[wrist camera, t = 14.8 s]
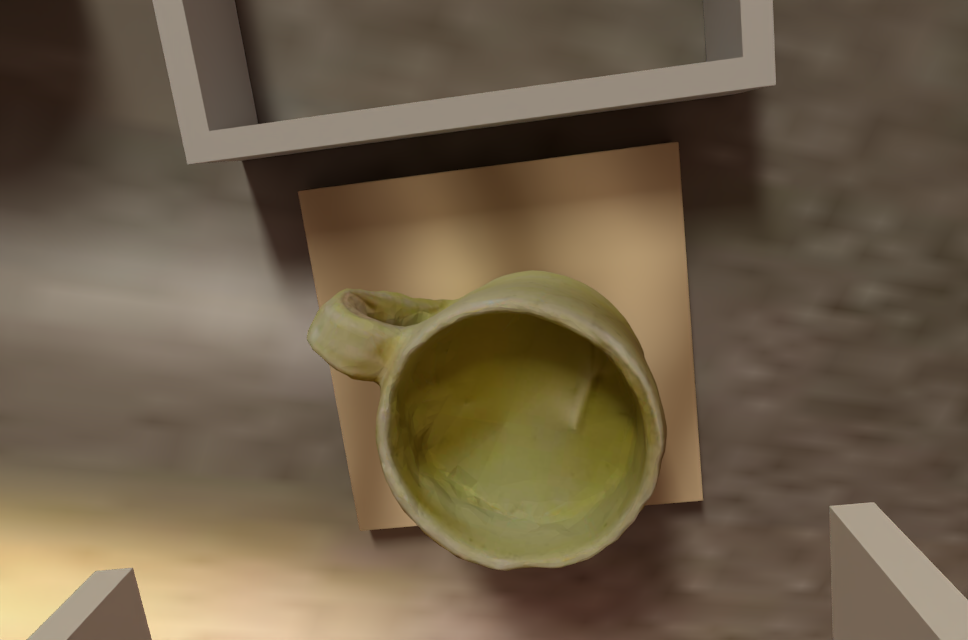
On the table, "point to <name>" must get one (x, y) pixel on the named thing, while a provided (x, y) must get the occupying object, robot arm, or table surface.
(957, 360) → the table surface
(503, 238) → the board
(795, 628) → the table surface
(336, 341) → the mug
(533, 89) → the tub
